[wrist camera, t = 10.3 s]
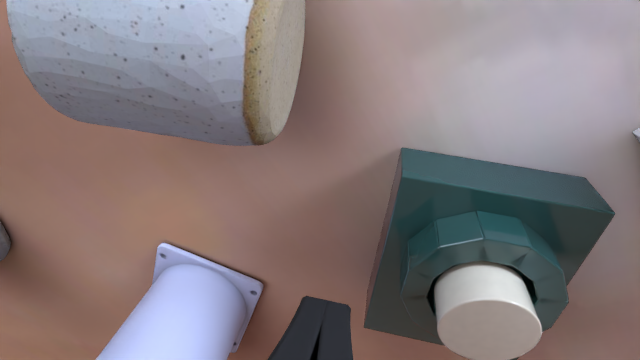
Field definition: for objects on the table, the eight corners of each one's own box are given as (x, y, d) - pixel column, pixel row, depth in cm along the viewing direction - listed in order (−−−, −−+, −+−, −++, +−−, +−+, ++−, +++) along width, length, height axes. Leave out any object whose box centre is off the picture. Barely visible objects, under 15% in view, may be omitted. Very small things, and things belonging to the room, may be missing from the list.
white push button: (507, 328, 17) (519, 370, 16) (424, 311, 18) (426, 350, 16) (541, 270, 15) (560, 312, 14) (446, 252, 16) (452, 289, 14)
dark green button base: (503, 319, 23) (526, 397, 19) (367, 290, 24) (360, 358, 20) (585, 177, 18) (643, 245, 13) (401, 146, 19) (401, 201, 14)
